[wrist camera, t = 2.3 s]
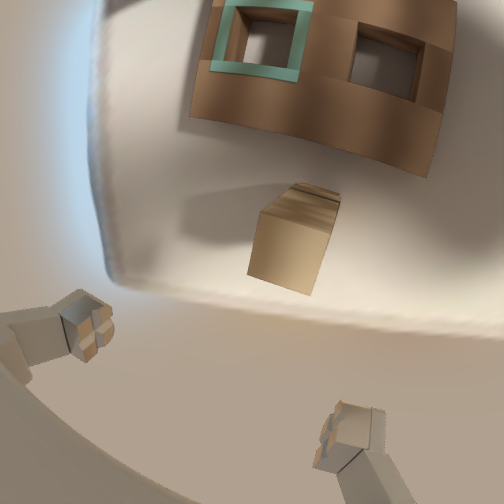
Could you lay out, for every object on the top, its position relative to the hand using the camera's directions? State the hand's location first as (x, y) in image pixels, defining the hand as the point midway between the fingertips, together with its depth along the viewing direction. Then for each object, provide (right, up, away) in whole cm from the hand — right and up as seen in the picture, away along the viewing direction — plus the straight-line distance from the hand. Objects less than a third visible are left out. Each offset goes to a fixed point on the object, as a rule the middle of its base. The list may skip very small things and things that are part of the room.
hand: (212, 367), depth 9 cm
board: (+8, +21, +13) cm, 26 cm away
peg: (+7, +8, +18) cm, 21 cm away
